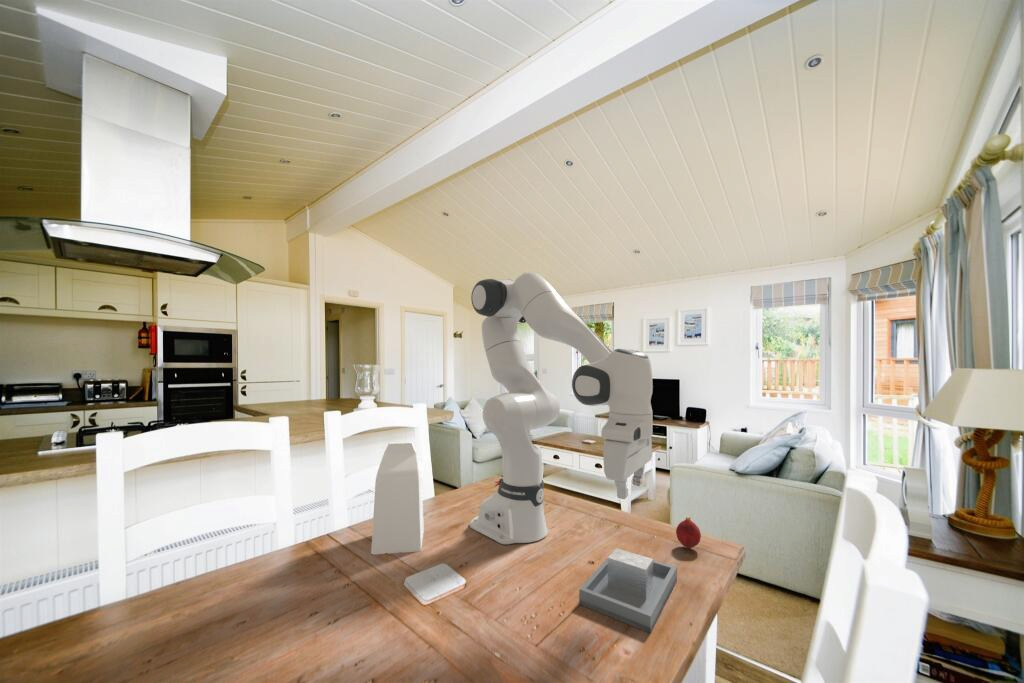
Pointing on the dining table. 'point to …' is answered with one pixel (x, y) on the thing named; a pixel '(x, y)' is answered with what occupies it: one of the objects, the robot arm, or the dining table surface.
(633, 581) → the block
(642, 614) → the tray
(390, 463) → the milk
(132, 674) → the dining table surface
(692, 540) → the onion
